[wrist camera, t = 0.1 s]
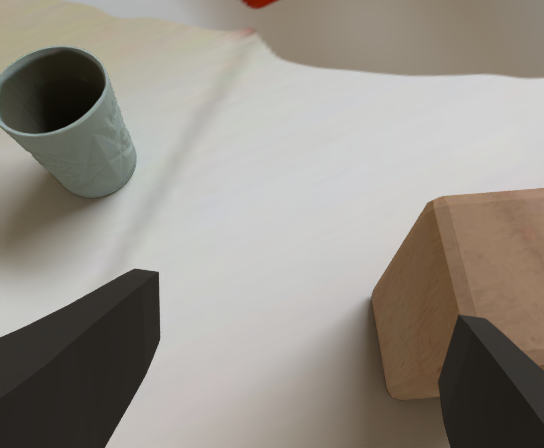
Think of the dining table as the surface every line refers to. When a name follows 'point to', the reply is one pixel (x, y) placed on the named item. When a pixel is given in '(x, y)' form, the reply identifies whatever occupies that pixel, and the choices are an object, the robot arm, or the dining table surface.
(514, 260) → the block
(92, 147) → the grey cup
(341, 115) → the dining table surface
